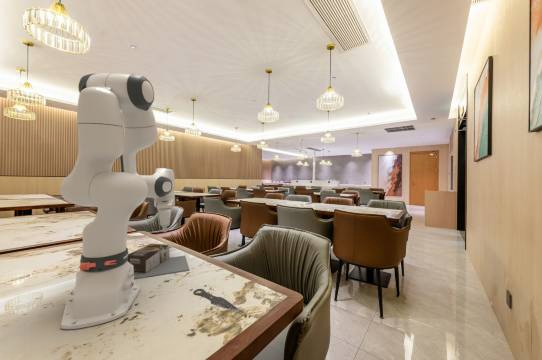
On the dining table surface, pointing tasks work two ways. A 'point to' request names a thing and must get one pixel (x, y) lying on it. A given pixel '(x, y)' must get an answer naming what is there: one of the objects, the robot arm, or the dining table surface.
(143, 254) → the coffee box
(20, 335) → the dining table surface
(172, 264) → the mat
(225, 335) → the dining table surface
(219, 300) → the throwing knife
